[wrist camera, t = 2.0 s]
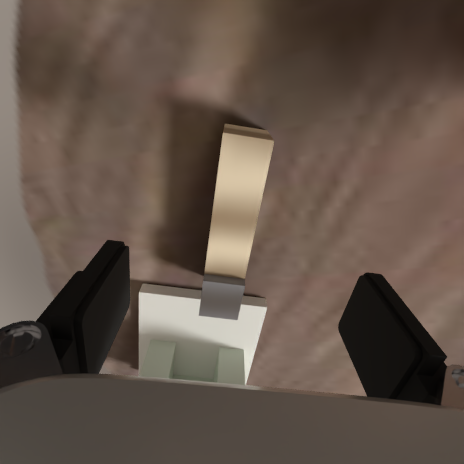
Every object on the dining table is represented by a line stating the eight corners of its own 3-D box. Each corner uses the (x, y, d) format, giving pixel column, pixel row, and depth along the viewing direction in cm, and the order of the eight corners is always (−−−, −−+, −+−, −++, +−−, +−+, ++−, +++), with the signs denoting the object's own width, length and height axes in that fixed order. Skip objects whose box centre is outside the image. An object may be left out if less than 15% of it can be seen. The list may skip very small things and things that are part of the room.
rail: (224, 123, 24) (222, 134, 19) (266, 130, 24) (276, 143, 19) (204, 276, 31) (198, 315, 26) (236, 280, 31) (237, 320, 26)
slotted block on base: (142, 283, 32) (100, 378, 21) (265, 298, 33) (280, 395, 22) (141, 370, 39) (109, 474, 28) (243, 381, 40) (247, 484, 29)
